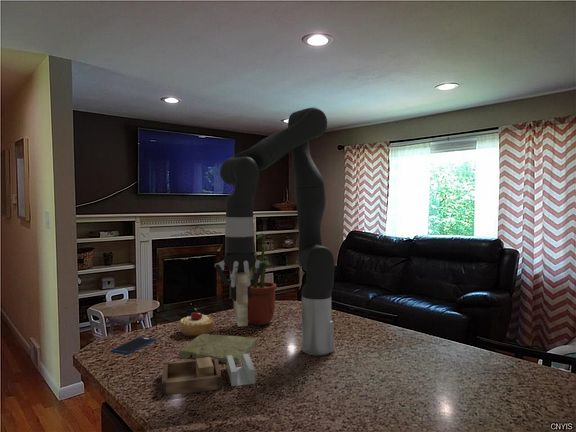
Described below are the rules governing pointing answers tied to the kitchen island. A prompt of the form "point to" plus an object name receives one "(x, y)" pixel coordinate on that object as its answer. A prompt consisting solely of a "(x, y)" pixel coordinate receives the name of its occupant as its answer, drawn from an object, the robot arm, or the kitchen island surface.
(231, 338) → the decorative tile
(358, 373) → the kitchen island surface
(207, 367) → the oak offcut upper
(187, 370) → the wooden tray
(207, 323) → the pastry
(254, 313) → the potted plant
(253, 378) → the slot stand
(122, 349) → the cell phone
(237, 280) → the birch sheet
